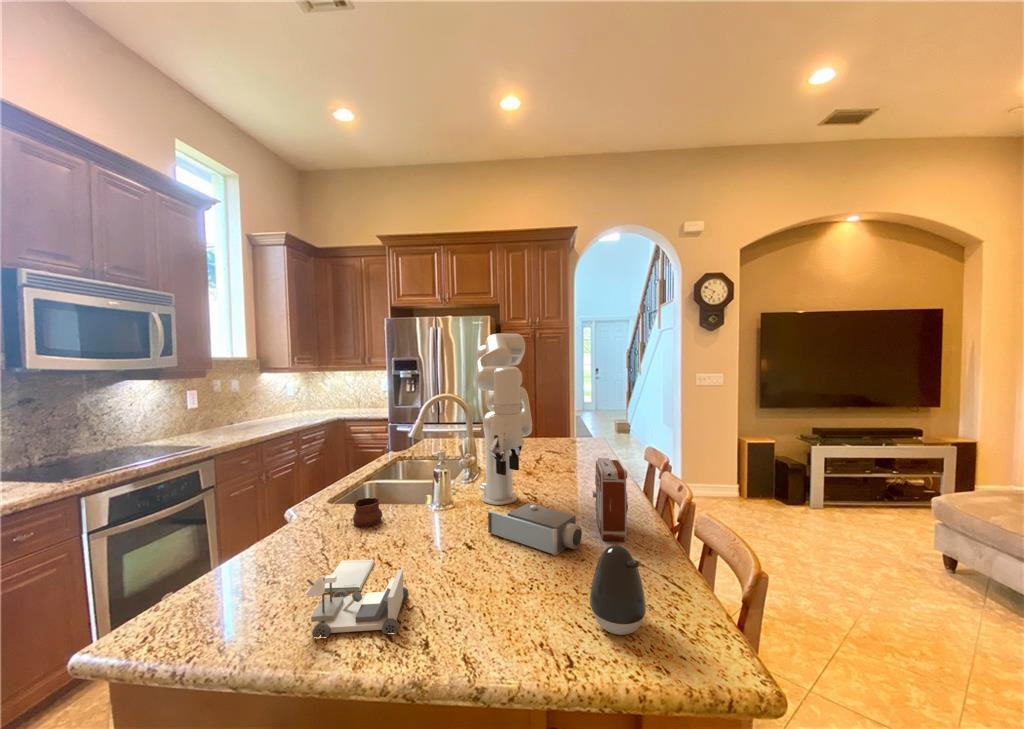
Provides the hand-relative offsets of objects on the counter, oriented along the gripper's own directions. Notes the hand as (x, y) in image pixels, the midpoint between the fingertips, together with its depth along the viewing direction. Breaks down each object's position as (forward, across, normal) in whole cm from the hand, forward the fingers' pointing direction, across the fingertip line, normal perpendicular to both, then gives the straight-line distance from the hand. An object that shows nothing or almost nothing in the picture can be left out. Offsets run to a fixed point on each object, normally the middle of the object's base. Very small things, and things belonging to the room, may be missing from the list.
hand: (507, 471), depth 120 cm
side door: (+17, +5, +8) cm, 20 cm away
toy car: (+18, +49, +1) cm, 53 cm away
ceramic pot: (+18, +21, -39) cm, 48 cm away
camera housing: (+17, -1, +13) cm, 22 cm away
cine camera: (+18, -19, +23) cm, 35 cm away
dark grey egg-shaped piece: (+18, +21, +43) cm, 51 cm away
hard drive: (+18, +42, -14) cm, 48 cm away
